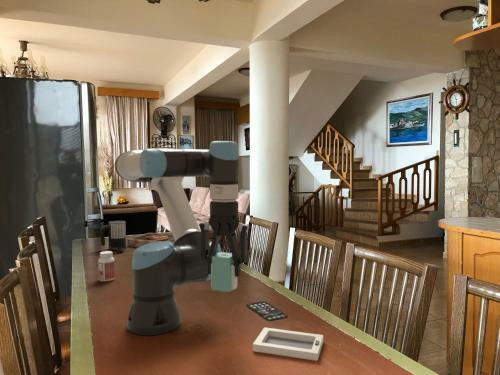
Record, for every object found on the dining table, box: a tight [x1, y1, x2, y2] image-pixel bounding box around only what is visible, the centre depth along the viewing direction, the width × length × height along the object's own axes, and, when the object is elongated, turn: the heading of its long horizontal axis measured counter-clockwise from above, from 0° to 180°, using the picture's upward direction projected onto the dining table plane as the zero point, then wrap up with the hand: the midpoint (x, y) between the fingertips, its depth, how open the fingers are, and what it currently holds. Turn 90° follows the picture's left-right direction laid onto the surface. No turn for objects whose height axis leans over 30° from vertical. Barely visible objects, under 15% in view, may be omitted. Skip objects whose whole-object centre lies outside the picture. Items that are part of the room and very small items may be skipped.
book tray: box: [127, 232, 175, 248], centre depth 227 cm, size 24×22×4 cm
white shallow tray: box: [252, 326, 324, 362], centre depth 100 cm, size 16×10×2 cm, turn 72°
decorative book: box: [144, 233, 173, 241], centre depth 227 cm, size 11×16×5 cm
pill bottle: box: [97, 250, 116, 282], centre depth 158 cm, size 6×6×11 cm
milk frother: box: [99, 220, 127, 253], centre depth 211 cm, size 14×16×15 cm
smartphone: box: [245, 301, 289, 322], centre depth 124 cm, size 7×1×15 cm
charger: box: [211, 251, 234, 293], centre depth 105 cm, size 5×5×9 cm
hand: (224, 286), depth 105 cm, fingers closed on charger, 5 cm apart
